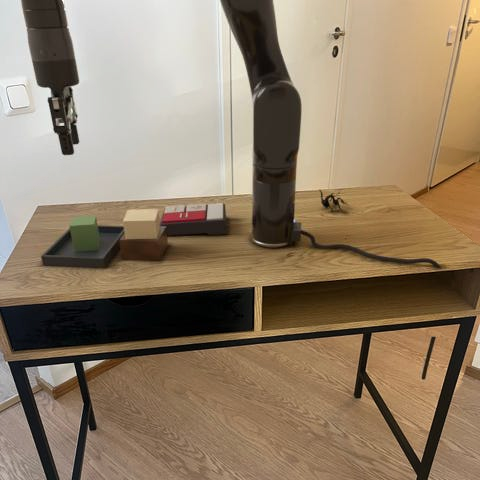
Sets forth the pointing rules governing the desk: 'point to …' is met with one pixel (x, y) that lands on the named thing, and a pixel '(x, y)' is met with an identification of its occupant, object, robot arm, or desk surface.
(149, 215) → the cream block
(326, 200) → the creature
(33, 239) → the desk surface
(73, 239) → the green block
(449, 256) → the desk surface
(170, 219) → the calculator
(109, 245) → the tray
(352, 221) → the desk surface
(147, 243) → the walnut block
